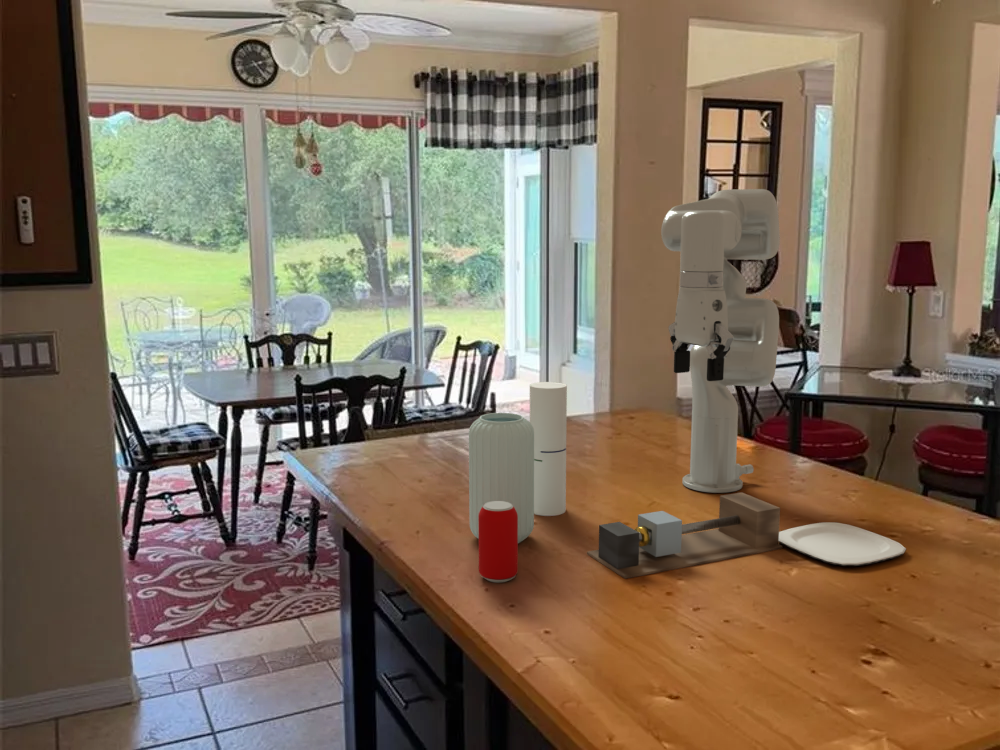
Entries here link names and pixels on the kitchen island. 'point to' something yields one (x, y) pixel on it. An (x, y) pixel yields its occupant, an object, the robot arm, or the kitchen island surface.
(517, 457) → the vase
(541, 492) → the cylindrical container
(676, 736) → the kitchen island surface
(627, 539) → the slide base
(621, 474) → the kitchen island surface
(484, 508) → the beverage can
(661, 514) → the grey sliding block
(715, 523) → the metal rod
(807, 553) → the plate
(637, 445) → the kitchen island surface
